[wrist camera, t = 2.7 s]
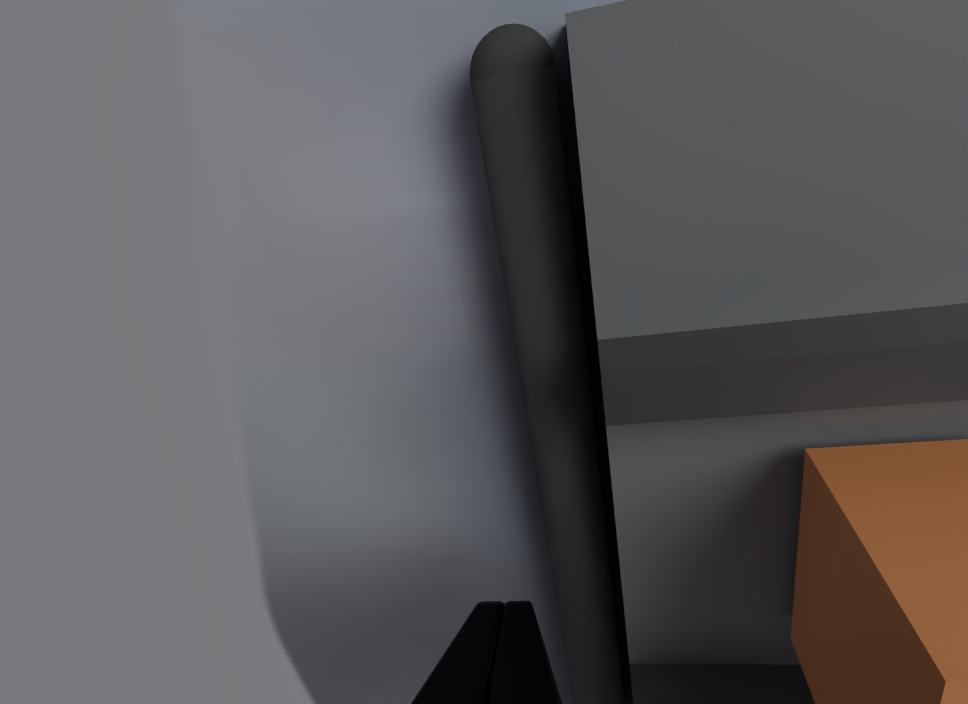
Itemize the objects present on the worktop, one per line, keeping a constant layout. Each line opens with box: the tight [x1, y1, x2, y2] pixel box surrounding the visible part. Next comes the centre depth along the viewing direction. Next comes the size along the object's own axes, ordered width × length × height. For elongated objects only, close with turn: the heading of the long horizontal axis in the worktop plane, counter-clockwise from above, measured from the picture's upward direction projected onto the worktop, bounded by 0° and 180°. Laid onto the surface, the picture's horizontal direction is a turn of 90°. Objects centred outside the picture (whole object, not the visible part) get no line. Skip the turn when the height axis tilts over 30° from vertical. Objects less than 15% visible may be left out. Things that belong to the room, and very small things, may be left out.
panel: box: [565, 0, 968, 704], centre depth 10 cm, size 16×8×3 cm, turn 10°
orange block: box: [791, 439, 968, 704], centre depth 7 cm, size 4×2×4 cm, turn 10°
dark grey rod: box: [470, 24, 625, 704], centre depth 11 cm, size 16×1×1 cm, turn 10°
